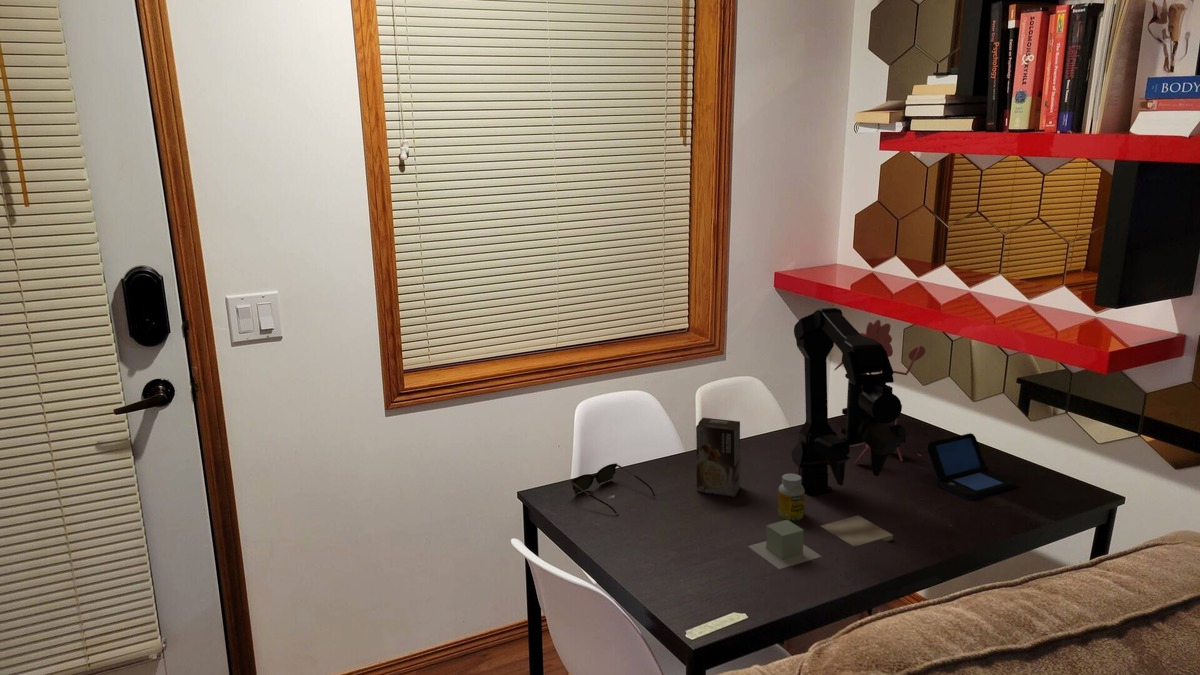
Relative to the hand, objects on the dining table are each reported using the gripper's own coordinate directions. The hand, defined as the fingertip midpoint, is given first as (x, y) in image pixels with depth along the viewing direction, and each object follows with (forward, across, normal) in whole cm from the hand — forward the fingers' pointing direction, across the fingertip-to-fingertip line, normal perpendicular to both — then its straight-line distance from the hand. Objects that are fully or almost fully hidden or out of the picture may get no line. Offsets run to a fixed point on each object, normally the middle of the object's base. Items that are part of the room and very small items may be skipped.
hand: (858, 480), depth 169 cm
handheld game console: (+12, +40, +7) cm, 43 cm away
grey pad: (+12, -18, 0) cm, 22 cm away
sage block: (+11, -18, 0) cm, 21 cm away
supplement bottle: (+12, -7, +12) cm, 18 cm away
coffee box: (+12, -12, +32) cm, 36 cm away
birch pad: (+12, 0, 0) cm, 12 cm away
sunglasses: (+13, -35, +39) cm, 54 cm away
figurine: (+12, +31, +30) cm, 45 cm away
